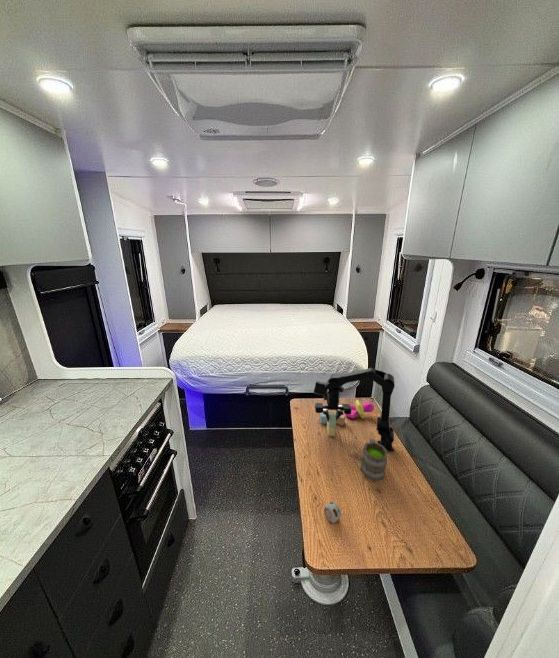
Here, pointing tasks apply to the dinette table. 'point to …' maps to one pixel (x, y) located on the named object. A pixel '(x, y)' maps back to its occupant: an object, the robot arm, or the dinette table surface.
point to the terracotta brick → (341, 419)
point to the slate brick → (323, 418)
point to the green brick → (332, 419)
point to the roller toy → (332, 512)
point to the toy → (360, 409)
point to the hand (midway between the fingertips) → (331, 421)
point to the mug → (374, 461)
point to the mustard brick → (330, 430)
